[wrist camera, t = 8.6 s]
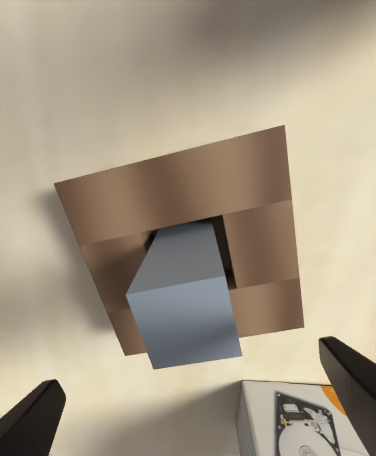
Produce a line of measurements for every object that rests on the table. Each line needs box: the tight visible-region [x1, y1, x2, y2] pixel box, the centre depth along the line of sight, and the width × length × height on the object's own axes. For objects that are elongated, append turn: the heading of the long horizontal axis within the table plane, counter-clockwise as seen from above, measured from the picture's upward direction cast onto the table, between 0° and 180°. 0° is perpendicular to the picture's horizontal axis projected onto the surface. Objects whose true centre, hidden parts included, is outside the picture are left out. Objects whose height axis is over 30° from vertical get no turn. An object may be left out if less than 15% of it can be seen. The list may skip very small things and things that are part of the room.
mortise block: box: [54, 125, 304, 356], centre depth 17 cm, size 14×14×4 cm
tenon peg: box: [126, 217, 242, 369], centre depth 13 cm, size 4×4×9 cm
